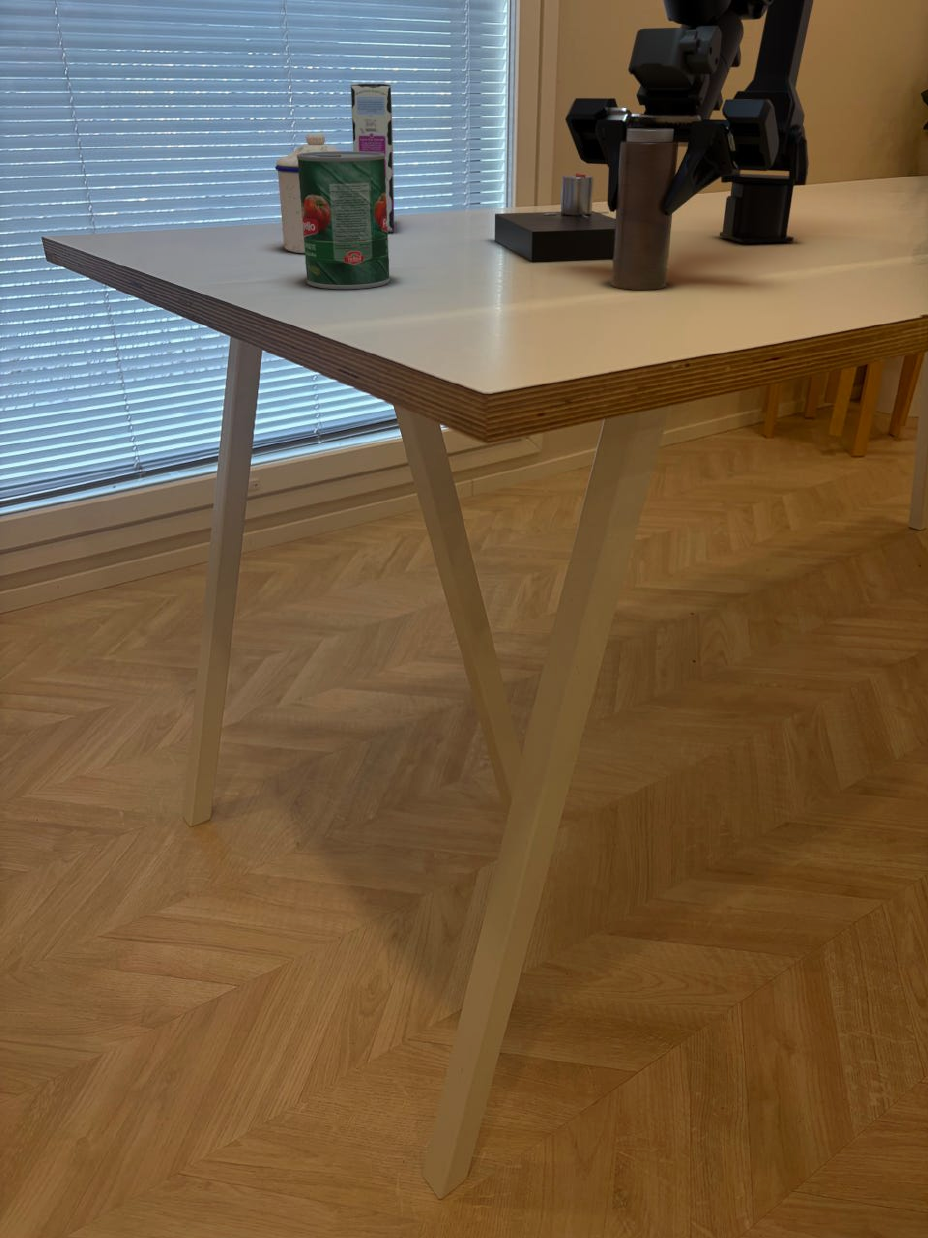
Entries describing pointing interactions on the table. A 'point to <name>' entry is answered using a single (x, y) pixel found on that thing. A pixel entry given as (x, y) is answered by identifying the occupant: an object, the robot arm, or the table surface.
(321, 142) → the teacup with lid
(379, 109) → the candy bar box
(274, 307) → the table surface
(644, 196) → the salt mill
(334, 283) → the canned tomato
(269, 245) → the table surface
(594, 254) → the stove
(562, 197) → the knob
